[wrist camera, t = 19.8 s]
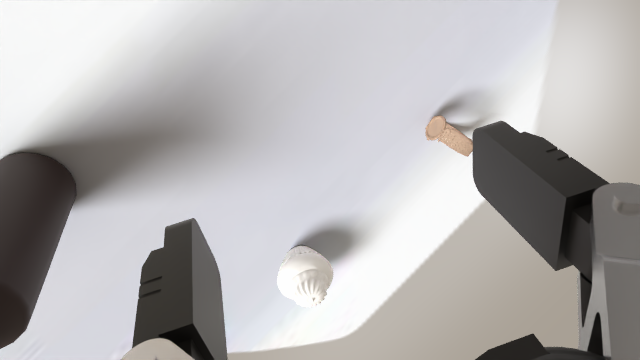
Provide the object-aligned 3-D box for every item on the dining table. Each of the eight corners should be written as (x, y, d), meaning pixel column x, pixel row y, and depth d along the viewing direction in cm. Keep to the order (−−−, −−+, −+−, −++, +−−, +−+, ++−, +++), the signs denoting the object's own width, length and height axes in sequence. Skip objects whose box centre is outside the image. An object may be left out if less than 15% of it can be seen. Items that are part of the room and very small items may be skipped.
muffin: (333, 259, 53) (351, 304, 47) (287, 284, 53) (299, 331, 48) (310, 225, 49) (327, 269, 44) (262, 252, 50) (272, 298, 44)
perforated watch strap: (431, 106, 45) (455, 127, 41) (463, 125, 47) (489, 146, 43) (415, 128, 46) (437, 151, 42) (447, 145, 48) (472, 169, 44)
